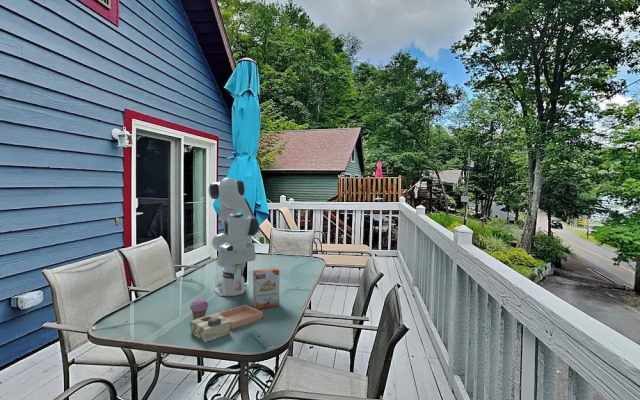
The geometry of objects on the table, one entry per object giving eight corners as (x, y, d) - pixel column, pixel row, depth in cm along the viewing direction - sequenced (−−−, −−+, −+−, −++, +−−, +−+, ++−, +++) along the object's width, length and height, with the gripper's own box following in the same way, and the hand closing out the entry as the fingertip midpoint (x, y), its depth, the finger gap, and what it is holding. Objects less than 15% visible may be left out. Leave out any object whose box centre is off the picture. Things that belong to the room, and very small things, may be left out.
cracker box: (256, 310, 183) (255, 272, 182) (253, 306, 188) (252, 270, 187) (280, 305, 189) (279, 269, 188) (276, 302, 195) (275, 267, 194)
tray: (215, 320, 169) (215, 313, 169) (245, 310, 182) (245, 304, 182) (232, 329, 158) (232, 322, 158) (263, 318, 171) (262, 312, 171)
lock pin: (233, 289, 169) (232, 264, 168) (239, 288, 172) (238, 263, 171) (236, 291, 167) (236, 265, 166) (242, 289, 169) (242, 264, 168)
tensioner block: (191, 333, 155) (190, 317, 155) (214, 325, 164) (214, 310, 163) (205, 343, 145) (205, 326, 145) (229, 334, 154) (229, 318, 153)
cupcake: (200, 313, 179) (200, 295, 178) (212, 316, 174) (211, 298, 174) (186, 319, 171) (186, 300, 170) (198, 322, 167) (197, 303, 166)
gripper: (250, 241, 178) (251, 267, 178) (215, 247, 163) (216, 274, 164) (257, 243, 173) (258, 269, 174) (222, 249, 159) (222, 277, 159)
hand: (237, 272), depth 169 cm, fingers closed on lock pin, 3 cm apart
